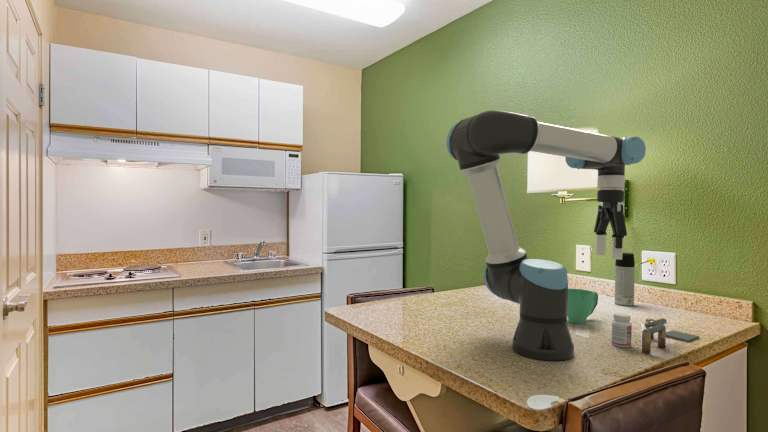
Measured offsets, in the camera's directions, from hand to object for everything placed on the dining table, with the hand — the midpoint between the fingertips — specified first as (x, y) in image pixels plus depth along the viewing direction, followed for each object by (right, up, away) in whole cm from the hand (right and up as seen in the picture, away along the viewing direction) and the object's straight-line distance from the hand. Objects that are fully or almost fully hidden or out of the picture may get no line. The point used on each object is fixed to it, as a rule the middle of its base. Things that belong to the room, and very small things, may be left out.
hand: (608, 257), depth 136 cm
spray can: (+23, -22, +32) cm, 45 cm away
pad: (+16, -22, -10) cm, 29 cm away
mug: (-5, -22, +8) cm, 24 cm away
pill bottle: (-6, -23, -18) cm, 29 cm away
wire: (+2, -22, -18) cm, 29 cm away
